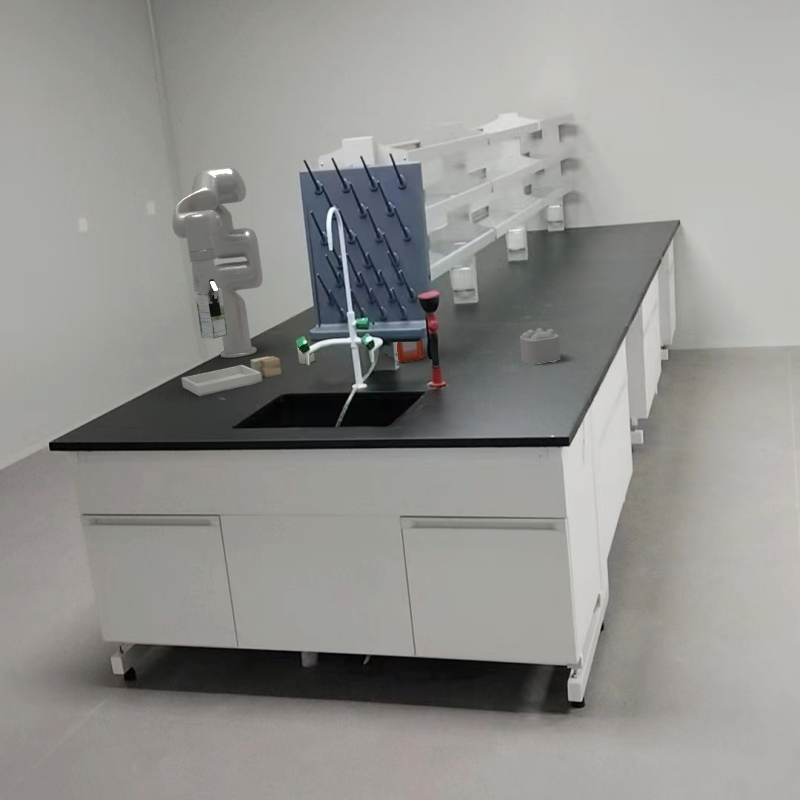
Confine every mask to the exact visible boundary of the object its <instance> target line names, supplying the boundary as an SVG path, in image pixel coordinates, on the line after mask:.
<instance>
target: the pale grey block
mask: <svg viewBox="0 0 800 800" xmlns="http://www.w3.org/2000/svg"><path fill="white" fill-rule="evenodd" d="M296 348H297V355H298V363H299V364H301V365H307V364H306V362H305V355H304V354H303V353H302V352H301V351H300V350H299V348H298V347H297V346H296ZM313 361H315V362H316V360H315V352H314V353H312V354H311V355H310V363H309V364H312V363H311V362H313ZM313 363H314V362H313Z"/></svg>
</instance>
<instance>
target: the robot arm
mask: <svg viewBox="0 0 800 800" xmlns="http://www.w3.org/2000/svg"><path fill="white" fill-rule="evenodd" d="M243 179H244V178H242V176H241V175H240V173H239V171H238V170H237V169H236V168H234V167H232V166H222V167H221V166H220V167H211V168H204V169H201V170H199V171H198V172H196V174H195V175H194V177H193V181H192V182H193V183H192V187H191V189H192V190H191V193H190V194H188V195H186V197H184V198H182V199H181V200H180V201H179V202H177V204H176V205H175V206H174V209H173V215H172V230H173V232H174V233H173V234H175V235H176V237H178V238H180V239H186V242H187V249H188V256H189V260H190V264H191V271H192V272H191V273H192V281H193V289H194V292H195V291H199V294H201V295H204V296H205V295H206V294H207V293H208V299H209V303H210V304H209V310H210V316H211V317H216V316H221V310H220V303H219V295H218V293H219V288H220V289H221V290H222V297H223V304H224V312H225V319H226V326H227V335H225V336H222V337H221V338H222V345H223V346H222V347H223V350H222V351H220V353H219V356H220V355H221V356H220V357H221V358H223V359H226V358H227V359H229V358H230V359H231V358H241V357H246V356H247V357H248V356H250V355H253V354H255V353H256V352H257V348H256V347H255V346H252V342H251V335H250V327H249V321H248V320H249V319H248V312H247V307H246V302H245V300H244V298H243V297H242V296H241V295H240V294H239V293H238V292H237V291H241V290H250V289H257V288H259V287H261V286H262V284H263V269H262V262H261V255H260V248H259V243H258V238H257V234H256V232H255V231H254V230H253V229H251V228H247V227H244V228H234V223H233V217H232V214H231V212H230V210H228V208H227V207H226V206H225V205H224V204H234V203H241V202H243V201H244V200H245V198H246V195H247V190H246V189H247V188H246V184H245V181H244V180H243ZM237 258H245V259H246V260H241V261H230V262H229V261H228V262H223V263H218V264H215V260H216V259H218V260H227V259H228V260H229V259H237ZM209 291H213V292H212V293H209ZM211 296H212V298H211Z"/></svg>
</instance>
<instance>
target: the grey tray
mask: <svg viewBox="0 0 800 800" xmlns="http://www.w3.org/2000/svg"><path fill="white" fill-rule="evenodd" d="M181 383H182V388H184V389H185V390H187V391H189V392H191V393H192V394H194V395H197V396H198V397H202V396H206V395H211V394H216V393H220V392H224V391H229V390H233V389H238V388H243V387H248V386H251V385H257V384H260V383H261V384H262V383H263V375H261V372H258V371H256V370H254V369H252V368H251V367H248V366H246V365H244V364H239V365H235V366H232V367H226V368H222V369H216V370H212V371H208V372H202V373H197V374H193V375H188V376H182V377H181Z"/></svg>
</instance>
